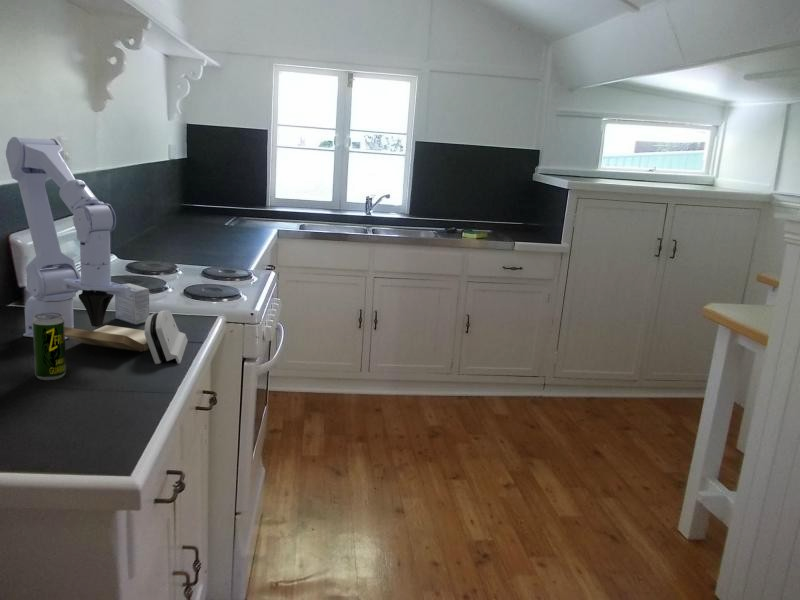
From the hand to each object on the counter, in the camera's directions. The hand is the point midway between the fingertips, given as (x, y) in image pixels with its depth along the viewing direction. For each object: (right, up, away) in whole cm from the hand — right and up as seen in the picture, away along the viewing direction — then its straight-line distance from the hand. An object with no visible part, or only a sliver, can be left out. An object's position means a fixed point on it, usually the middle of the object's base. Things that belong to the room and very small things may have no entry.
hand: (97, 325), depth 144 cm
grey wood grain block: (-3, 0, +27) cm, 27 cm away
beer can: (-3, -9, -13) cm, 16 cm away
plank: (0, -4, +1) cm, 4 cm away
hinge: (+13, -6, +6) cm, 15 cm away
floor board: (+2, -4, +11) cm, 11 cm away
